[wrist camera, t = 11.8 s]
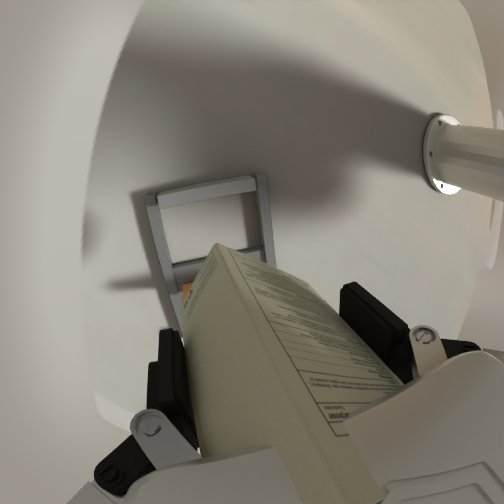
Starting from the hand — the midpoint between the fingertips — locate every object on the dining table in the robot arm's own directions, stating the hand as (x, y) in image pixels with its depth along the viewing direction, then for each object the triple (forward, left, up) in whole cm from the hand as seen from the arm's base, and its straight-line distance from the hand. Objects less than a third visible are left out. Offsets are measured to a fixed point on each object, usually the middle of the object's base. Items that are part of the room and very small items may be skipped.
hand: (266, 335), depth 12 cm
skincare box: (0, 0, -4) cm, 4 cm away
